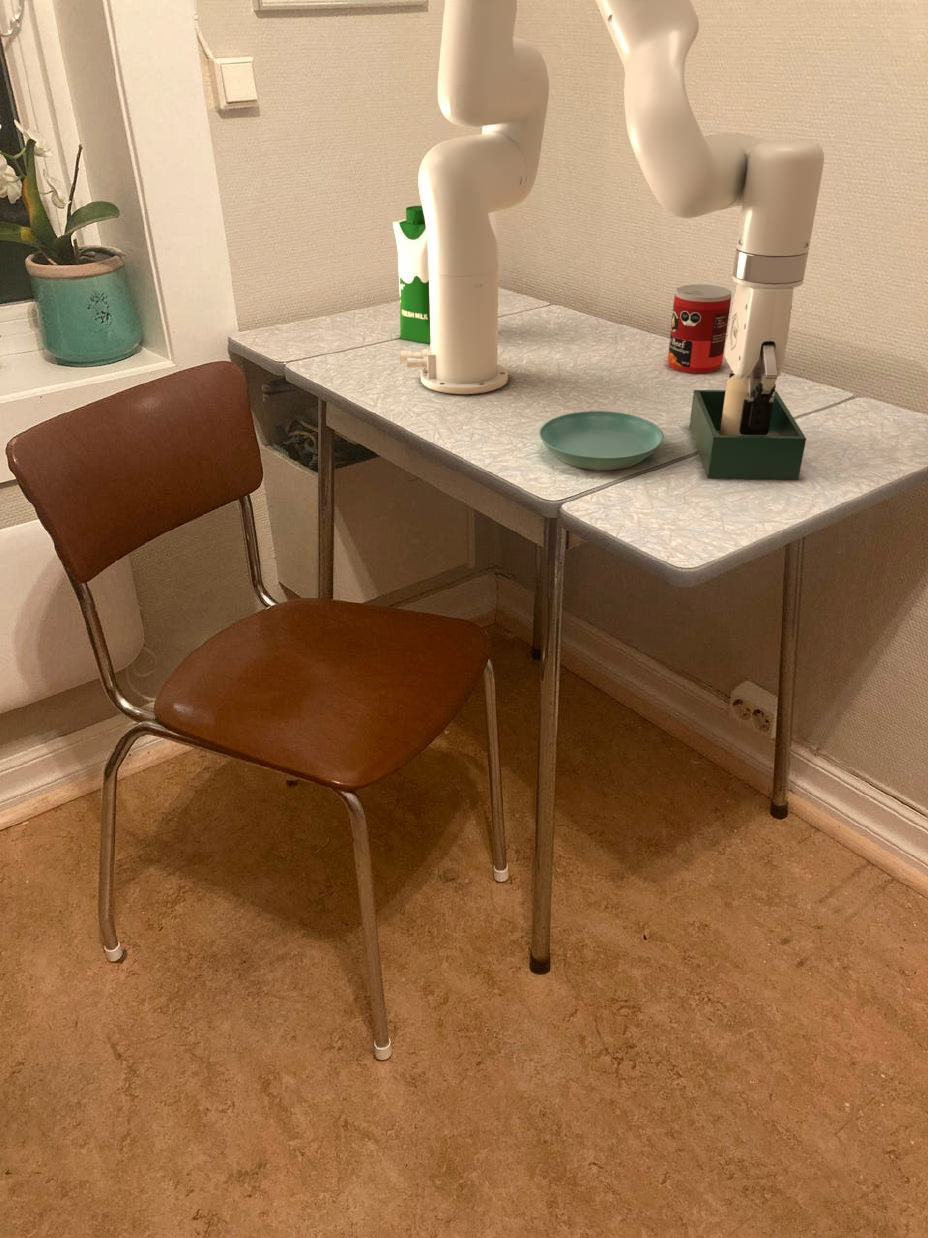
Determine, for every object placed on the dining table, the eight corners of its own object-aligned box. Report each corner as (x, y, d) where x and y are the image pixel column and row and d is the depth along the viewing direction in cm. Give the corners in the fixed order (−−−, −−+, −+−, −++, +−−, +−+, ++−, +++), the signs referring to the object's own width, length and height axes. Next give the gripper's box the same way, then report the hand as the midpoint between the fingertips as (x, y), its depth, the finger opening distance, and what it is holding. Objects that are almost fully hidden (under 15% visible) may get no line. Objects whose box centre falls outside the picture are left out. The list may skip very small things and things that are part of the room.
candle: (765, 462, 113) (779, 379, 108) (717, 459, 114) (729, 377, 109) (762, 445, 118) (776, 364, 112) (716, 441, 119) (728, 362, 113)
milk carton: (392, 339, 157) (386, 207, 146) (423, 325, 163) (420, 198, 152) (437, 347, 153) (434, 212, 142) (467, 333, 159) (466, 203, 148)
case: (707, 478, 110) (713, 436, 107) (689, 427, 123) (693, 389, 120) (798, 479, 109) (806, 438, 106) (770, 428, 122) (776, 390, 120)
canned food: (661, 358, 147) (669, 284, 141) (712, 357, 147) (722, 283, 141) (675, 375, 140) (683, 298, 134) (728, 373, 141) (739, 296, 135)
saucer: (537, 430, 123) (537, 410, 121) (653, 430, 122) (655, 410, 121) (540, 477, 110) (540, 456, 109) (669, 478, 110) (671, 457, 108)
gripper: (721, 250, 112) (703, 394, 121) (749, 286, 97) (726, 447, 107) (786, 250, 112) (763, 395, 121) (824, 286, 97) (794, 448, 106)
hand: (745, 419), depth 114 cm, fingers open, 8 cm apart
